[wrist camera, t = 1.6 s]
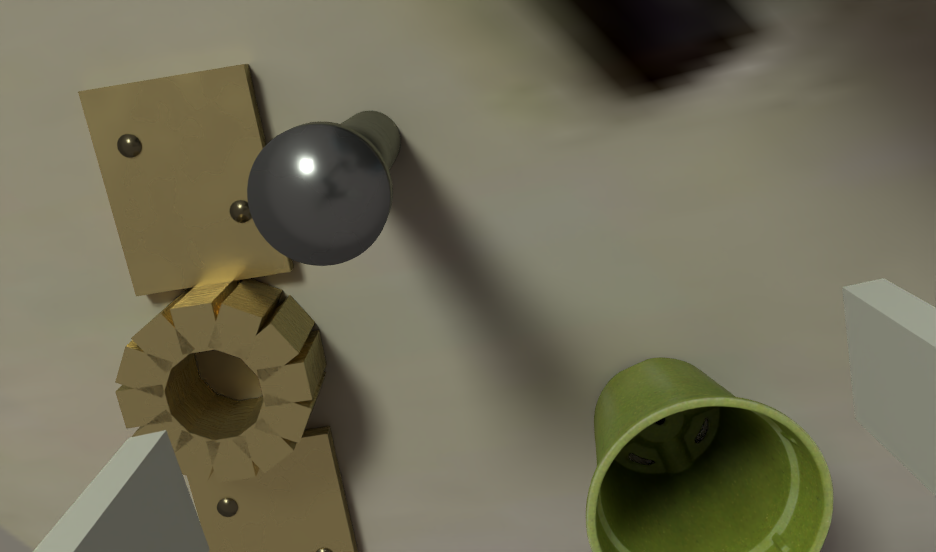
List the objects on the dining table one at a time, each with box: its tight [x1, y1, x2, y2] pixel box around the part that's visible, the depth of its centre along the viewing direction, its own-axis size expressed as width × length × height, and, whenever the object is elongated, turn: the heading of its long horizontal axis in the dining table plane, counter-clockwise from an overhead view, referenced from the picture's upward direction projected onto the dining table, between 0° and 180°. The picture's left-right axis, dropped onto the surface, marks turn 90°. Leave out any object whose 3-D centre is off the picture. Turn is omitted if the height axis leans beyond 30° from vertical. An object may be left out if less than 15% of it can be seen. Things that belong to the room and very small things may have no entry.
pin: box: [247, 111, 401, 266], centre depth 28 cm, size 4×4×14 cm
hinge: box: [78, 64, 358, 552], centre depth 36 cm, size 26×8×4 cm, turn 9°
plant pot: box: [586, 358, 833, 552], centre depth 35 cm, size 9×9×9 cm
